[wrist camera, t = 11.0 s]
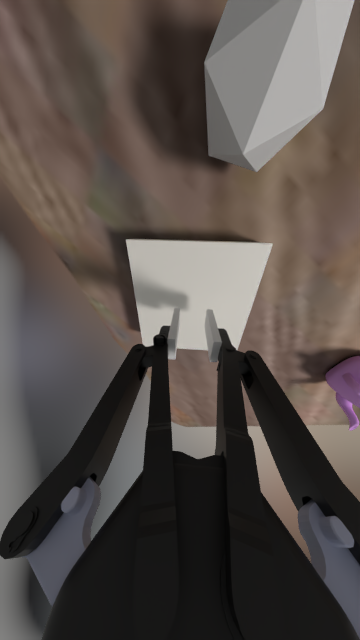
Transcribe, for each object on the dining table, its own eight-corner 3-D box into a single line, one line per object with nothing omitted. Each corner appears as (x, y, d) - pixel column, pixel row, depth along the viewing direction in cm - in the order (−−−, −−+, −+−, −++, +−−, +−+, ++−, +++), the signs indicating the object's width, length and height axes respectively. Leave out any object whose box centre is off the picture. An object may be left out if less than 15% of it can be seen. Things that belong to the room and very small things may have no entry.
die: (308, 65, 12) (565, -302, 4) (256, 194, 17) (320, 154, 9) (220, 28, 12) (294, -501, 3) (190, 172, 16) (190, 107, 8)
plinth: (136, 238, 20) (125, 239, 17) (258, 242, 20) (273, 243, 16) (148, 333, 30) (143, 346, 27) (231, 338, 29) (236, 352, 26)
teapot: (346, 342, 28) (410, 387, 20) (395, 361, 30) (473, 409, 21) (291, 381, 36) (321, 426, 27) (333, 395, 37) (373, 440, 29)
